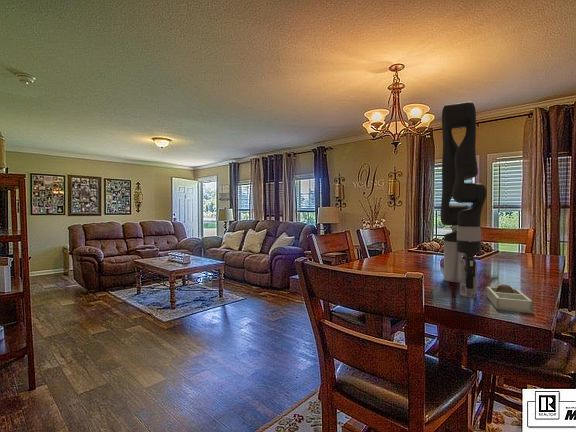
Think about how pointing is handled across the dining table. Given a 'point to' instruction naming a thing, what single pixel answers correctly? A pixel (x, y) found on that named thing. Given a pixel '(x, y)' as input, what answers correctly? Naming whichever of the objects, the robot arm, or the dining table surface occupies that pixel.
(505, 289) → the walnut ball
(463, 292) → the energy drink
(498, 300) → the caddy
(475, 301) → the dining table surface
